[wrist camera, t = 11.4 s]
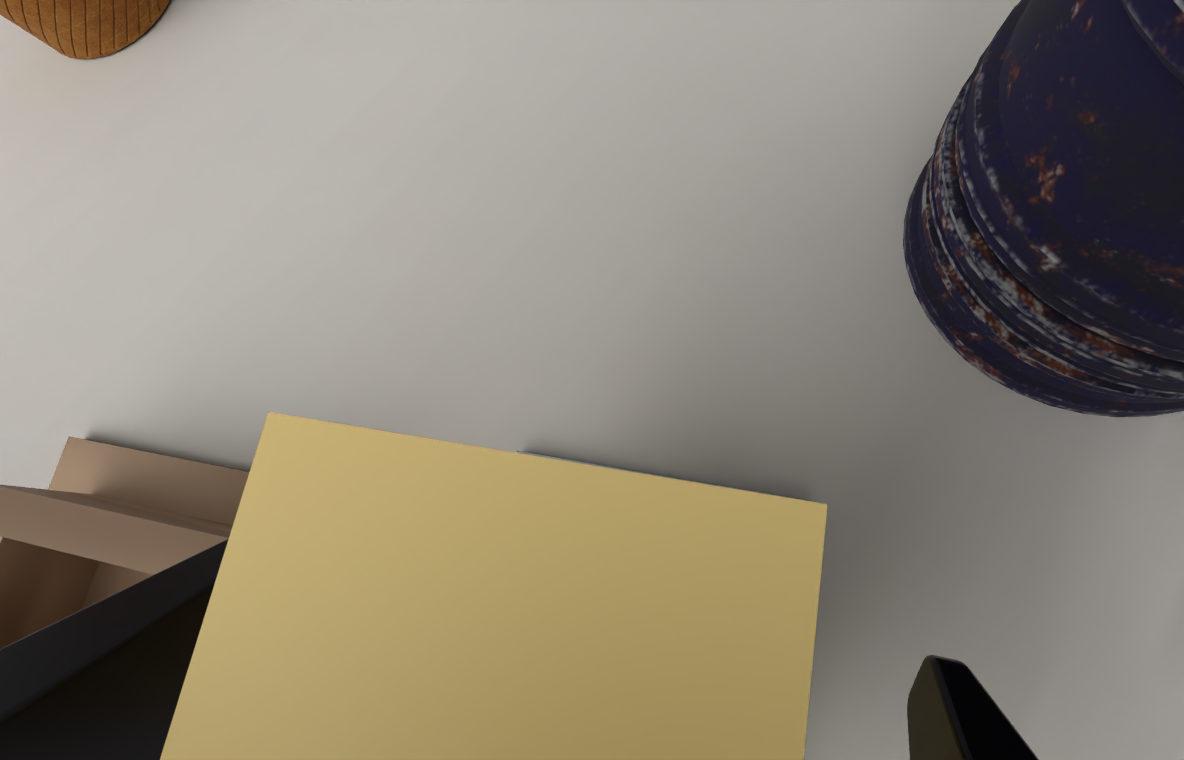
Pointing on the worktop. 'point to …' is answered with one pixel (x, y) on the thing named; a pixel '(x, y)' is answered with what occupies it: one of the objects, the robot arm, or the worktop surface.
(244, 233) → the worktop surface
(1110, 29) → the storage jar
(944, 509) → the worktop surface
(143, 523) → the socket
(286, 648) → the plug
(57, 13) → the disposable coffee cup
